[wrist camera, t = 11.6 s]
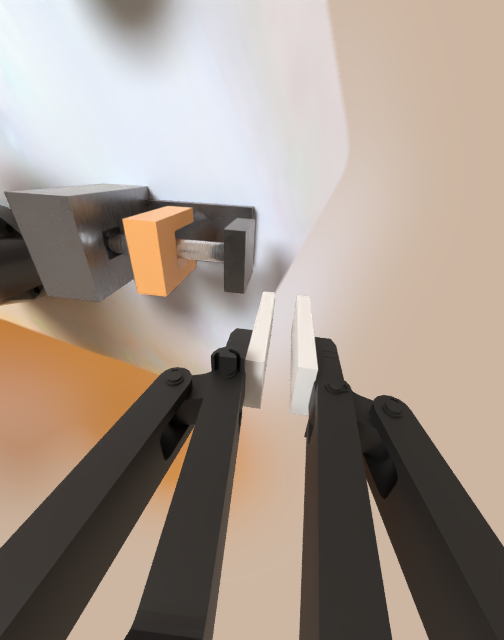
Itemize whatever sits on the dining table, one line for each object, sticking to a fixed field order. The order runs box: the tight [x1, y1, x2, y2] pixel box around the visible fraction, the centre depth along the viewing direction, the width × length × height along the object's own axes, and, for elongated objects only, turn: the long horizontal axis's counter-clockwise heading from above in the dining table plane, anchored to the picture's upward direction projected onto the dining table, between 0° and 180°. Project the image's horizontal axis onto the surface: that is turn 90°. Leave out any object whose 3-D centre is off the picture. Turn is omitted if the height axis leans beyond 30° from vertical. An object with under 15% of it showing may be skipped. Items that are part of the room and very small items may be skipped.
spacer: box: [122, 206, 197, 297], centre depth 27 cm, size 3×7×9 cm, turn 177°
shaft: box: [108, 218, 255, 294], centre depth 27 cm, size 15×6×6 cm, turn 87°
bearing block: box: [4, 184, 254, 302], centre depth 29 cm, size 20×10×14 cm, turn 87°
